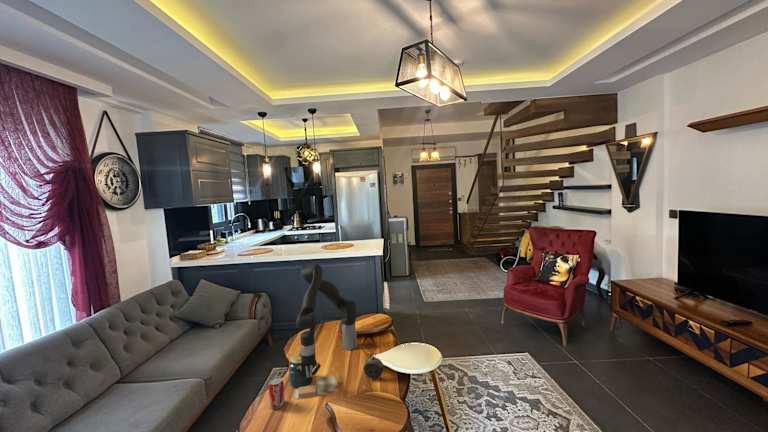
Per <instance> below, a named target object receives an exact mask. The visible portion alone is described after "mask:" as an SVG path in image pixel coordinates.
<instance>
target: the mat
mask: <svg viewBox="0 0 768 432" xmlns="http://www.w3.org/2000/svg"><path fill="white" fill-rule="evenodd" d="M298 393H299V388H296V389H294V396H295V400H299V399H305V398H309V397H313V396H317V391H316V395H312V396H306V397H300V398H299V395H298Z"/></svg>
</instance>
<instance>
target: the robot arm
mask: <svg viewBox="0 0 768 432" xmlns="http://www.w3.org/2000/svg"><path fill="white" fill-rule="evenodd" d="M323 273H324V272H323V268H322V266H321V265H320V264H319V263H315V264H312V265H310V266H306V267H304V268H303V269H302V270H301V276H302V278H303V280H304V281H305V283H307V284H309V287H308V289H307V290H306V292H305V294H304V295H303V299H302V305H301V310H300V311H299V314H298V315H297V318H296V321H295V326H296V328H297V329H299V330H306V329H307V331H304V332H301V334H300V351H301V364H300V366H299V367H297V371H298V372H299V373H300V374H301V375H302V376H303V377H307V383H308V384H309V385H312V382H313V381H312V376H313V377H314V376H316V375H317V373H318V371H319V370H320V369H321V366H322V365H321V363H319V362H318V361H317V358H316V344H315V331H316V326H317V323H318V322H317V321H318V317H317V316H316V315H315V314H312V313H314V312H315V309H316V304H317V296H318V293H319V292H320V293H321V294H322V295H323V296H324V297H325V298H326V299H327V300H328V301H330V302H331V303H332V304H334V306H335V308H337V309H338V311H339V312H341V313H343V314H346V316H345V317H343V318H342V319H341V335H342V337H341V338H342V339H341V340H342V349H343V350H344V351H352V350H355V349H357V348H358V343H357V342H358V341H357V331H356V319H357V302H356V301H354V300H351V299H347V298H345V297H344V296H342V295H341V293H340V289H339V288H338V287H337V286H336V284H334V283H333V282H331V281H329V280H325V279H323ZM302 368H303V369H304V371H306V373H305V372H303V371H302ZM308 371H310V375H309V373H308Z"/></svg>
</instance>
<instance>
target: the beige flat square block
mask: <svg viewBox="0 0 768 432" xmlns="http://www.w3.org/2000/svg"><path fill="white" fill-rule="evenodd" d="M314 379H315V381H314V382H315V385H316V391H317V395H316V396H318V397H319V396H324V395H329V394H333V393H338V392H339V384H338V381H337V376H336V374H331V375H325V376H320V377H316V378H314Z"/></svg>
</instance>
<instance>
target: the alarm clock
mask: <svg viewBox="0 0 768 432" xmlns="http://www.w3.org/2000/svg"><path fill="white" fill-rule="evenodd" d="M373 353H374V354H375V356H371V355H372V354H373ZM369 355H370V356H369V358H367V359H366V360H365V362H364V364H363V372H364V374H365V375H366V378H369V379H371V382H374V379H375V380H376V379H381V380H382V374H383V371H384V363H383V362H382V360H381V359H379V358H377V354H376V352H375V351H372V352H370V354H369Z"/></svg>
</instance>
